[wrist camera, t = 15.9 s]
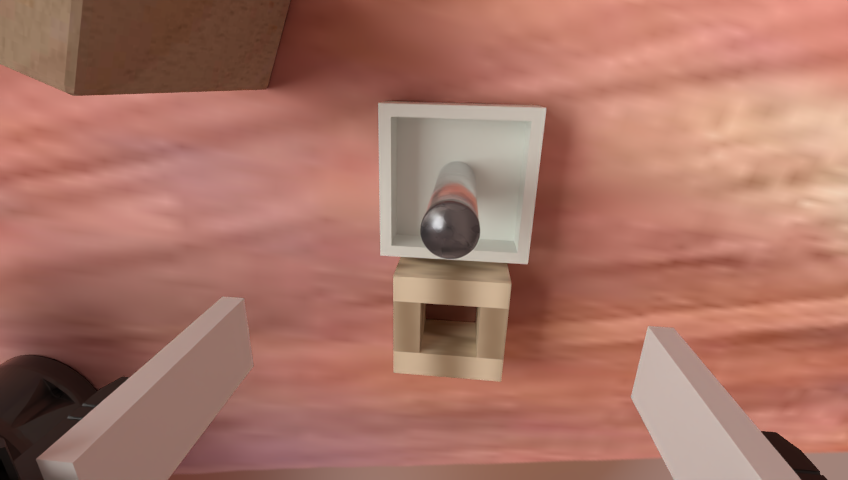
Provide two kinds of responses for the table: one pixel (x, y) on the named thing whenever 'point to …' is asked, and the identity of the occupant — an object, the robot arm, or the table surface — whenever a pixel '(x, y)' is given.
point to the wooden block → (142, 44)
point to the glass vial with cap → (452, 213)
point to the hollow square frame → (450, 340)
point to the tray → (472, 144)
